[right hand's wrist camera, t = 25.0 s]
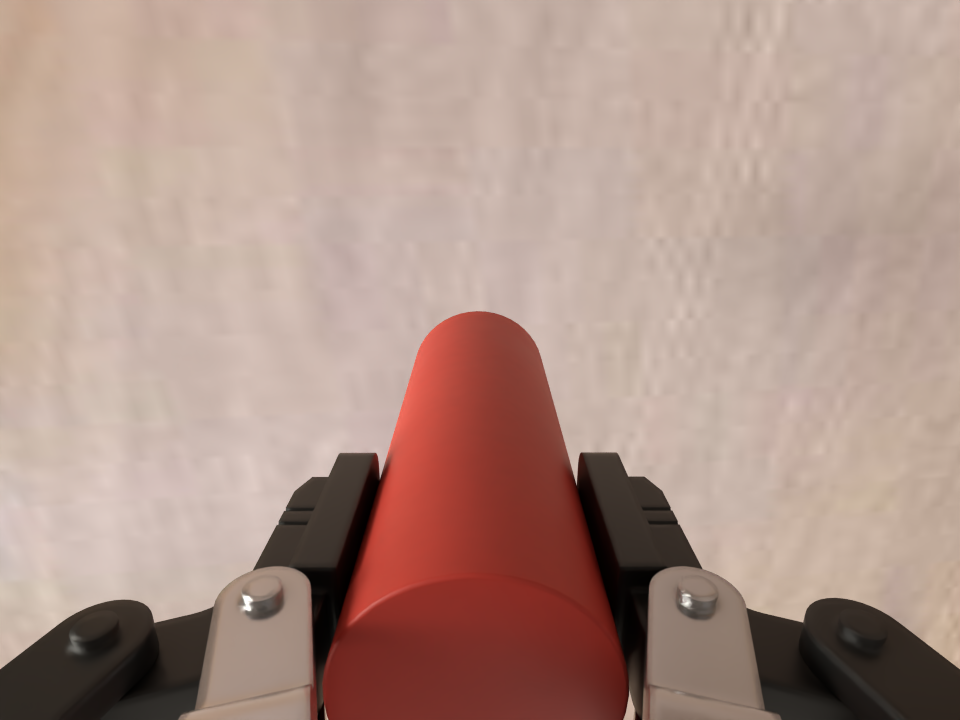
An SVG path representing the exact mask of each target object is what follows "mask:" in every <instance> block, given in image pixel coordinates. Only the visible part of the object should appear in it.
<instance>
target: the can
mask: <svg viewBox="0 0 960 720" xmlns="http://www.w3.org/2000/svg"><path fill="white" fill-rule="evenodd" d="M322 686H323V700H324V705H325V709H326V713H327V717H328V719H329V720H623V719H624V716H625V713H626V708H627V703H628V697H629V677H628V671H627V665H626V662H625V658H624V654H623V651H622V647H621V644H620V640H619V636H618V633H617V629H616V626H615V622H614V618H613V615H612V611H611V608H610V604H609V600H608V597H607V593H606V590H605V586H604V583H603V579H602V575H601V572H600V568H599V565H598V561H597V557H596V554H595V550H594V547H593V543H592V539H591V536H590V532H589V529H588V525H587V521H586V518H585V514H584V511H583V507H582V503H581V500H580V496H579V493H578V489H577V485H576V482H575V478H574V475H573V471H572V467H571V464H570V460H569V457H568V453H567V450H566V446H565V442H564V439H563V435H562V432H561V428H560V424H559V421H558V417H557V414H556V410H555V406H554V403H553V399H552V396H551V392H550V388H549V385H548V381H547V378H546V374H545V370H544V367H543V363H542V360H541V356H540V353H539V350H538V348H537V346H536V344H535V342H534V341H533V339H532V338H531V336H530V335H529V334H528V333H527V332H526V331H525V330H524V329H523V328H522V327H521V326H520V325H518V324H517V323H516V322H514V321H512V320H511V319H509V318H506V317H504V316H502V315H499V314H495V313H490V312H480V311H476V312H467V313H462V314H458V315H455V316H453V317H450V318H448V319H446V320H444V321H443V322H442V323H440V324H439V325H437V326H436V327H435V328H434V329H433V330H432V331H431V332H430V333H429V334H428V335H427V336H426V338H425V339H424V341H423V342H422V344H421V346H420V348H419V350H418V354H417V357H416V360H415V364H414V367H413V370H412V374H411V377H410V380H409V384H408V387H407V391H406V394H405V397H404V401H403V404H402V407H401V411H400V414H399V418H398V421H397V424H396V428H395V431H394V434H393V438H392V441H391V445H390V448H389V451H388V455H387V458H386V461H385V465H384V468H383V472H382V475H381V478H380V482H379V485H378V488H377V492H376V495H375V499H374V502H373V505H372V509H371V512H370V515H369V519H368V522H367V526H366V529H365V532H364V536H363V539H362V542H361V546H360V549H359V553H358V556H357V559H356V563H355V566H354V569H353V573H352V576H351V580H350V583H349V586H348V590H347V593H346V596H345V600H344V603H343V607H342V610H341V613H340V617H339V620H338V623H337V627H336V630H335V634H334V637H333V640H332V644H331V647H330V650H329V654H328V657H327V661H326V664H325V667H324V674H323V682H322Z"/></svg>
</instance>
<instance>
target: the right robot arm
mask: <svg viewBox="0 0 960 720" xmlns="http://www.w3.org/2000/svg"><path fill="white" fill-rule="evenodd" d="M379 482H380V476H379V462H378V456H377V454H376V453H340V454H339V455H338V457H337V459H336V462H335V464H334V466H333V468H332V470H331V473H330V475H329V477H312V478H311V479H310V480H308V481H307V482H306V483H305V484H303V485H302V486H301V487H299V488H298V489H297V490H296V491H295V492H294V494H293V495H292V497H291V499H290V501H289V503H288V505H287V507H286V511H284V512H283V514H282V516H281V518H280V520H279V525H277V526H276V528H275V530H274V531H273V533H272V535H271V537H270V539H269V541H268V543H267V545H266V547H265V549H264V550H263V552H262V554H261V556H260V558H259V560H258V562H257V564H256V566H255V567H254V569H253V571H251V572H248V573H246V574H244V575H242V576H240V577H238V578H237V579H235V580H234V581H232V582H231V583H229V584H228V585H227V586H226V587H225V588H224V589H223V590H222V591H221V593H220V594H219V595H218V597H217V599H216V601H215V604H214V607H212V608H210V609H207V610H204V611H202V612H198V613H195V614H191V615H187V616H182V617H178V618H174V619H169V620H165V621H161V622H157V623H154V620H153V616H152V613H151V610H150V609H149V608H148V607H147V606H146V605H145V604H143V603H140V602H138V601H133V600H114V601H109V602H104V603H100V604H97V605H94V606H91V607H89V608H86V609H84V610H82V611H80V612H78V613H76V614H74V615H72V616H70V617H69V618H67V619H66V620H64V621H63V622H61V623H60V624H59V625H57V626H56V627H55V628H53V629H52V630H51V631H50V632H48V633H47V634H46V635H44V636H43V637H42V638H40V639H39V640H38V641H37V642H35V643H34V644H33V645H31V646H30V647H29V648H27V649H26V650H25V651H24V652H22V653H21V654H20V655H18V656H17V657H16V658H14V659H13V660H12V661H11V662H9V663H8V664H7V665H5V666H4V667H3V668H1V669H0V720H327V719H326V710H325V705H324V700H323V686H322V682H323V674H324V667H325V664H326V661H327V657H328V654H329V650H330V647H331V644H332V640H333V637H334V634H335V630H336V627H337V623H338V620H339V617H340V613H341V610H342V607H343V603H344V600H345V596H346V593H347V590H348V586H349V583H350V580H351V576H352V573H353V569H354V566H355V563H356V559H357V556H358V553H359V549H360V546H361V542H362V539H363V536H364V532H365V529H366V526H367V522H368V519H369V515H370V512H371V509H372V505H373V502H374V499H375V495H376V492H377V488H378V485H379ZM577 489H578V493H579V496H580V500H581V503H582V507H583V511H584V514H585V518H586V521H587V525H588V529H589V532H590V536H591V539H592V543H593V547H594V550H595V554H596V557H597V561H598V565H599V568H600V572H601V575H602V579H603V583H604V586H605V590H606V593H607V597H608V600H609V604H610V608H611V611H612V615H613V618H614V622H615V626H616V629H617V633H618V636H619V640H620V644H621V647H622V651H623V654H624V658H625V662H626V665H627V671H628V677H629V690H630V694H631V698H632V701H633V705H634V707H635V710H634V719H633V720H960V669H959V668H957V667H956V666H955V665H953V664H952V663H951V662H949V661H948V660H947V659H946V658H944V657H943V656H942V655H940V654H939V653H938V652H936V651H935V650H934V649H933V648H931V647H930V646H929V645H927V644H926V643H925V642H923V641H922V640H921V639H920V638H918V637H917V636H916V635H914V634H913V633H912V632H910V631H909V630H908V629H907V628H905V627H904V626H903V625H901V624H900V623H899V622H897V621H896V620H895V619H893V618H892V617H890V616H889V615H887V614H885V613H883V612H882V611H880V610H878V609H875V608H873V607H871V606H869V605H866V604H863V603H860V602H857V601H853V600H848V599H841V598H826V599H821V600H818V601H815V602H814V603H812V604H811V605H810V606H809V607H808V608H807V611H806V614H805V618H804V622H803V623H802V622H798V621H794V620H790V619H785V618H781V617H777V616H772V615H768V614H764V613H760V612H757V611H753V610H751V609H748V608H746V604H745V601H744V599H743V597H742V595H741V594H740V593H739V591H738V590H737V589H736V588H735V587H734V586H733V585H732V584H731V583H729V582H728V581H726V580H725V579H723V578H722V577H720V576H718V575H716V574H714V573H712V572H709V571H706V570H703V569H702V567H701V565H700V563H699V561H698V559H697V557H696V555H695V554H694V552H693V550H692V548H691V546H690V544H689V542H688V540H687V538H686V536H685V534H684V532H683V530H682V528H681V527H680V525H678V521H677V519H676V517H675V515H674V513H673V511H671V509H670V508H671V507H670V505H669V503H668V502H667V500H666V498H665V496H664V494H663V492H662V490H660V489H659V488H658V487H657V486H655V485H654V484H653V483H652V482H650V481H649V480H648V479H647V478H645V477H628V475H627V473H626V471H625V468H624V466H623V464H622V462H621V459H620V457H619V455H618V454H617V453H580V456H579V462H578V476H577Z"/></svg>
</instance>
